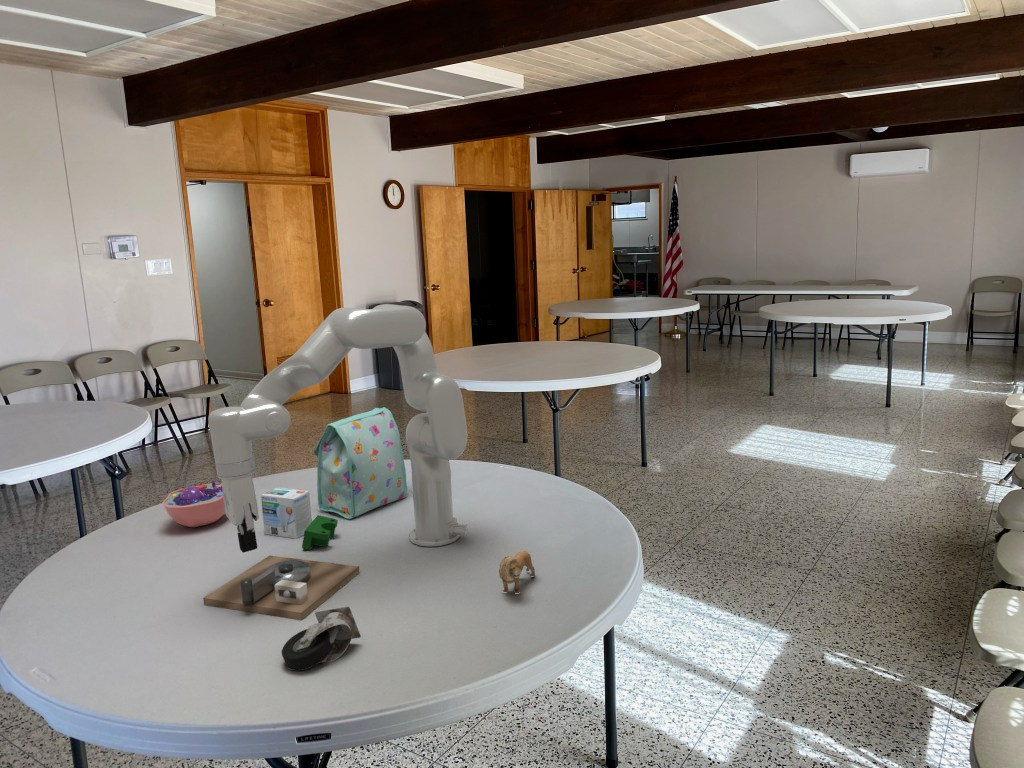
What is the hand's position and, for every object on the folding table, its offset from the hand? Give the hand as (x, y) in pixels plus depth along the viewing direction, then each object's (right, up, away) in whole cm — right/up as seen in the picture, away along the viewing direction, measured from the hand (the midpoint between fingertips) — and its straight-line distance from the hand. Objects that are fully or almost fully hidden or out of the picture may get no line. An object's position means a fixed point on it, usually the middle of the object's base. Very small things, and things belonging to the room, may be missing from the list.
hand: (248, 549), depth 156 cm
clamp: (+8, -5, +28) cm, 30 cm away
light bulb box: (-3, -4, +36) cm, 37 cm away
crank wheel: (+5, -8, +1) cm, 10 cm away
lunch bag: (+13, 0, +55) cm, 56 cm away
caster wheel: (+21, -14, -24) cm, 35 cm away
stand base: (+6, -9, +4) cm, 12 cm away
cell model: (-29, -3, +46) cm, 54 cm away
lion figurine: (+57, -8, 0) cm, 58 cm away
